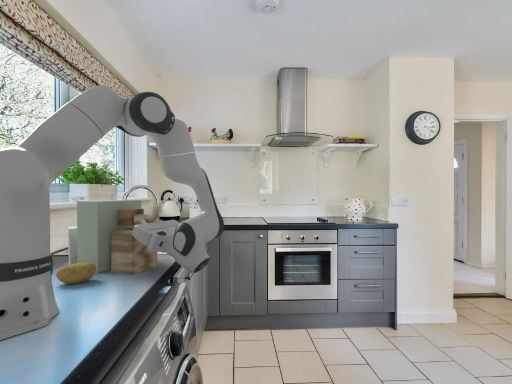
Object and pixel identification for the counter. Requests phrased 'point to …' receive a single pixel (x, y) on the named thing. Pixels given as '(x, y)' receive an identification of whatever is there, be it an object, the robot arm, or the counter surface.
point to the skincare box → (72, 244)
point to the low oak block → (130, 253)
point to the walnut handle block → (134, 217)
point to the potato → (76, 273)
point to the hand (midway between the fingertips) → (146, 218)
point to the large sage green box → (99, 229)
